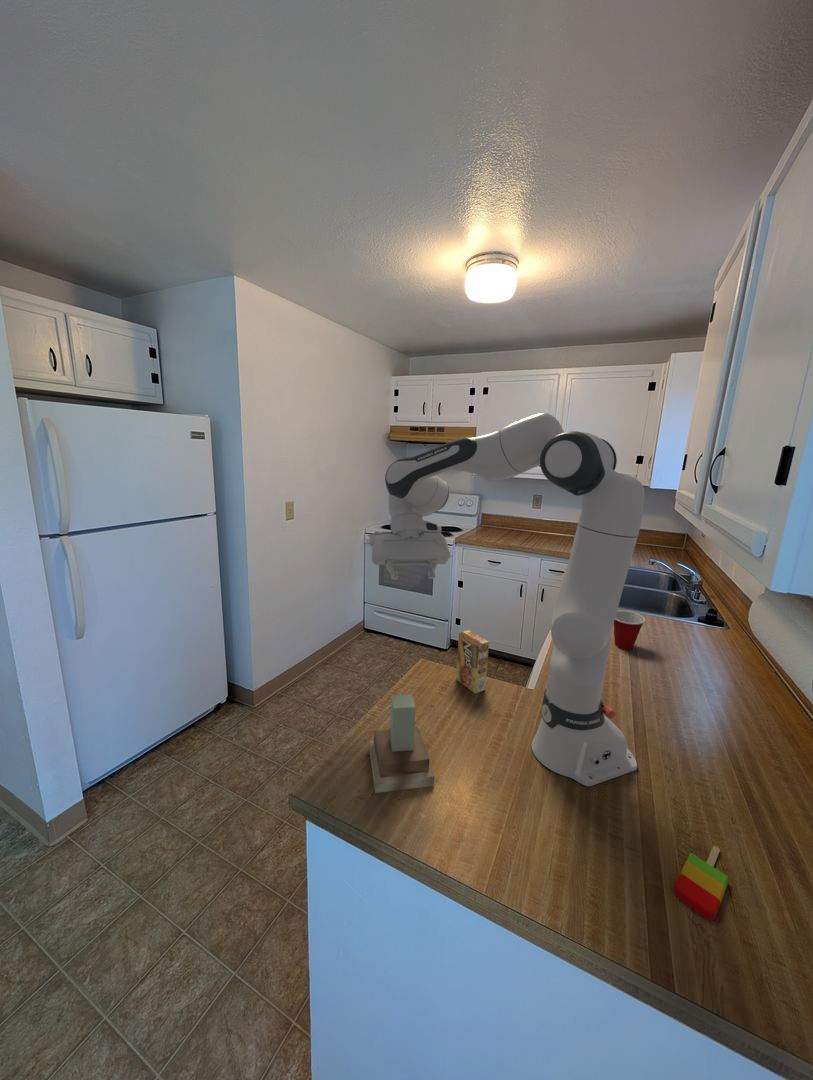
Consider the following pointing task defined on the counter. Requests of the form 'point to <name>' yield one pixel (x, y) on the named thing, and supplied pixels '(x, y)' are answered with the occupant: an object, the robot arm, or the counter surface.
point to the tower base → (398, 777)
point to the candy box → (472, 661)
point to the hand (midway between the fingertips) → (413, 578)
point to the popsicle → (702, 885)
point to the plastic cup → (627, 628)
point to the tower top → (400, 756)
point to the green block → (402, 723)
